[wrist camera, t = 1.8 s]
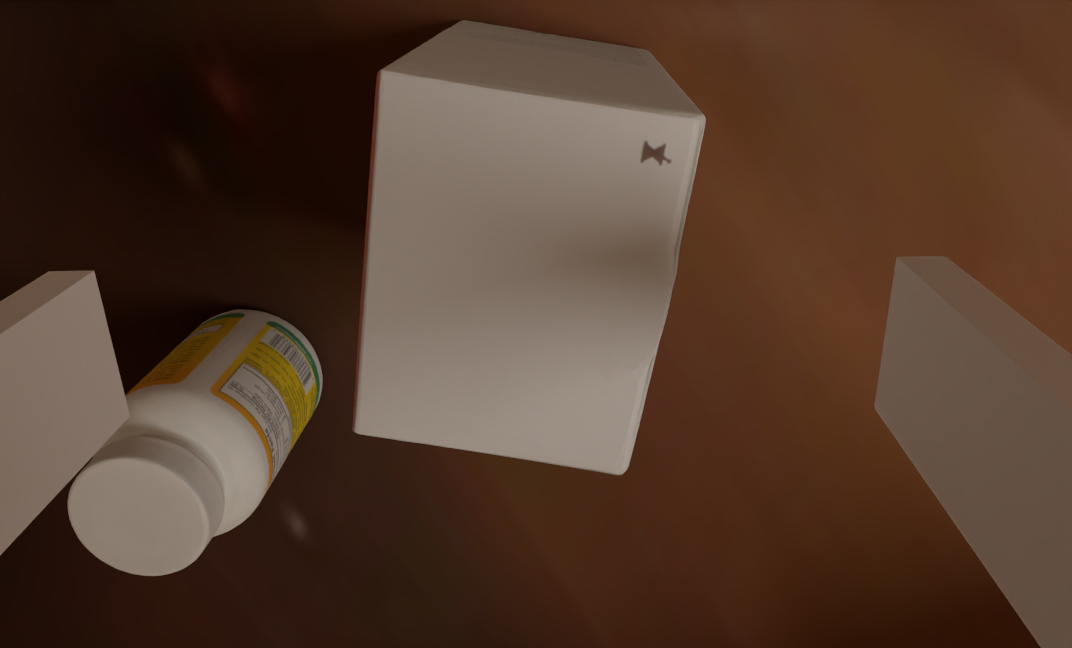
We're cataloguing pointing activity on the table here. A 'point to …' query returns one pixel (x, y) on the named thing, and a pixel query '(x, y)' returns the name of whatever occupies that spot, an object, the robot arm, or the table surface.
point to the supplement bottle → (197, 443)
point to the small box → (520, 244)
